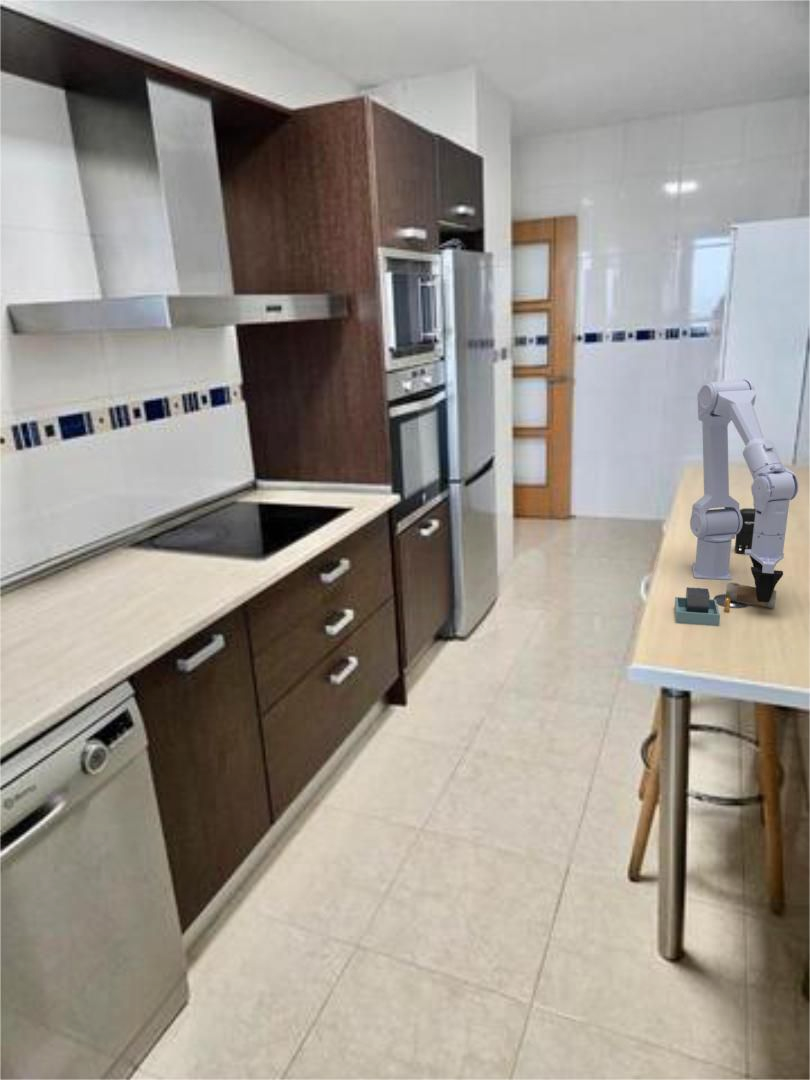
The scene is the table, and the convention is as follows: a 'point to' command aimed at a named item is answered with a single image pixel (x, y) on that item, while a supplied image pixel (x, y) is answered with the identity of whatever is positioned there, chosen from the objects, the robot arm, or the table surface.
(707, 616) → the tray
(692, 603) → the block
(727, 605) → the crank base
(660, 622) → the table surface
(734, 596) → the crank
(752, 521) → the battery charger
